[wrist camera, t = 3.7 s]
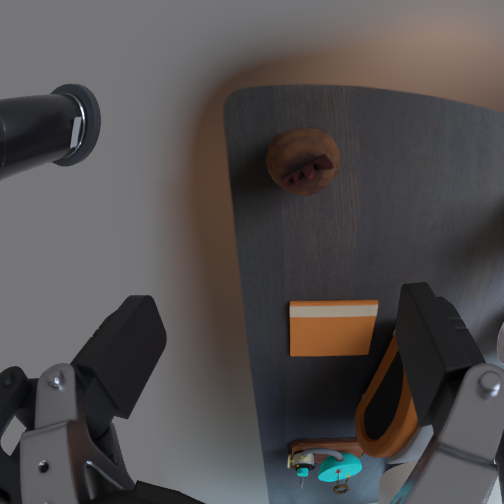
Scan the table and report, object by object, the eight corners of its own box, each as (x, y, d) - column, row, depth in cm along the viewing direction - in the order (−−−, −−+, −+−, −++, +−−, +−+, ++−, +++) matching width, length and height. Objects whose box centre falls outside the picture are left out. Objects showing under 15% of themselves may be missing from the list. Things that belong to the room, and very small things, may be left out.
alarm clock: (398, 308, 38) (432, 404, 23) (448, 313, 37) (491, 397, 22) (352, 407, 48) (356, 485, 33) (394, 407, 47) (406, 481, 32)
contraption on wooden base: (288, 433, 54) (282, 495, 41) (372, 430, 51) (377, 491, 38) (288, 458, 60) (282, 511, 47) (360, 456, 57) (362, 508, 44)
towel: (290, 353, 44) (290, 357, 43) (289, 300, 40) (289, 303, 39) (367, 352, 42) (368, 355, 41) (377, 299, 38) (378, 302, 37)
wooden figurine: (328, 123, 29) (354, 128, 16) (336, 174, 32) (363, 219, 18) (266, 131, 31) (242, 143, 17) (276, 182, 33) (259, 231, 20)
